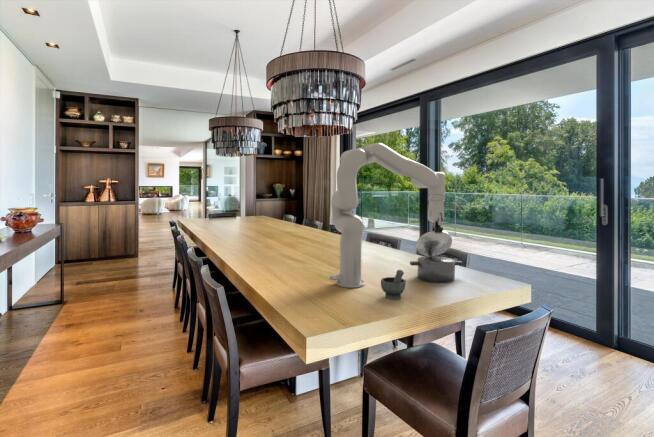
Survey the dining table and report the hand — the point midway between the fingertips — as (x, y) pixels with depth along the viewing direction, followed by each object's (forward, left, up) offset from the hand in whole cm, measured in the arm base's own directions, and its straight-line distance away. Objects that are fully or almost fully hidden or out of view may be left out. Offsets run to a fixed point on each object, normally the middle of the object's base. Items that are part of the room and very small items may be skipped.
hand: (436, 236), depth 172 cm
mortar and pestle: (-28, -32, -20) cm, 47 cm away
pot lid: (-1, 0, -3) cm, 3 cm away
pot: (-1, -3, -20) cm, 20 cm away
